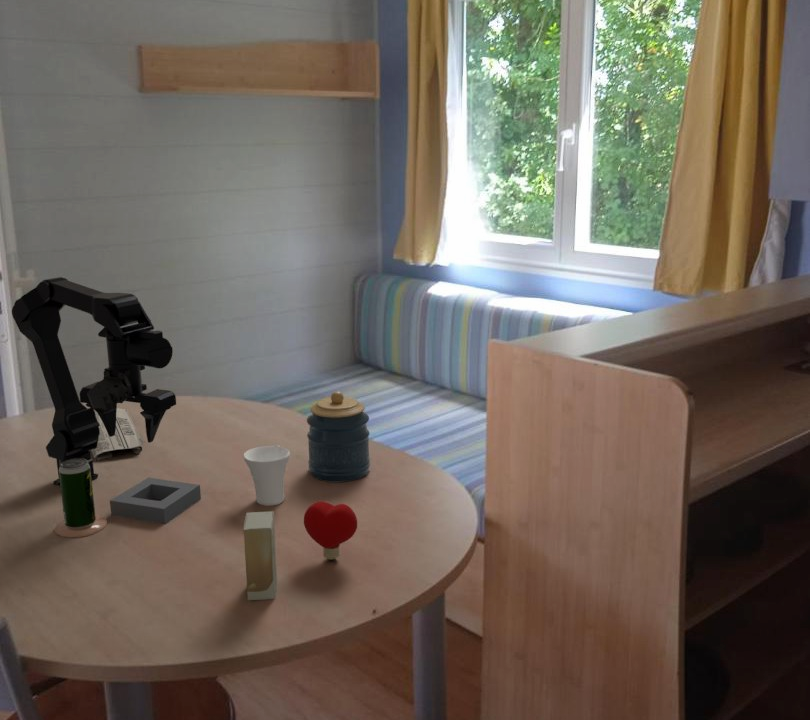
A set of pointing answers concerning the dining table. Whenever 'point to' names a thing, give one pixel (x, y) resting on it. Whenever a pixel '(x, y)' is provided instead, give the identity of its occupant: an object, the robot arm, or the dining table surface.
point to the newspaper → (118, 436)
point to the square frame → (143, 508)
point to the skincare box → (260, 555)
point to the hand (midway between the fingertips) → (131, 439)
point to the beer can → (77, 494)
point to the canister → (338, 439)
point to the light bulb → (330, 526)
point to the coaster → (65, 532)
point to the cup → (268, 472)
